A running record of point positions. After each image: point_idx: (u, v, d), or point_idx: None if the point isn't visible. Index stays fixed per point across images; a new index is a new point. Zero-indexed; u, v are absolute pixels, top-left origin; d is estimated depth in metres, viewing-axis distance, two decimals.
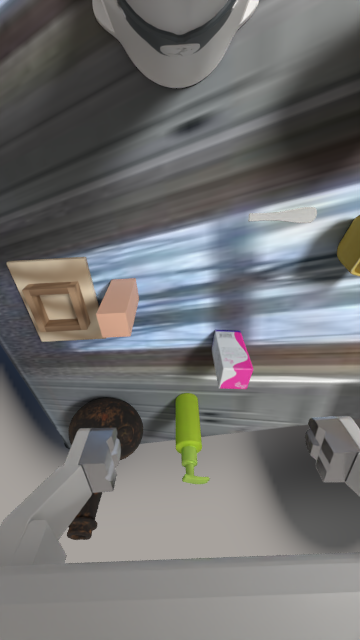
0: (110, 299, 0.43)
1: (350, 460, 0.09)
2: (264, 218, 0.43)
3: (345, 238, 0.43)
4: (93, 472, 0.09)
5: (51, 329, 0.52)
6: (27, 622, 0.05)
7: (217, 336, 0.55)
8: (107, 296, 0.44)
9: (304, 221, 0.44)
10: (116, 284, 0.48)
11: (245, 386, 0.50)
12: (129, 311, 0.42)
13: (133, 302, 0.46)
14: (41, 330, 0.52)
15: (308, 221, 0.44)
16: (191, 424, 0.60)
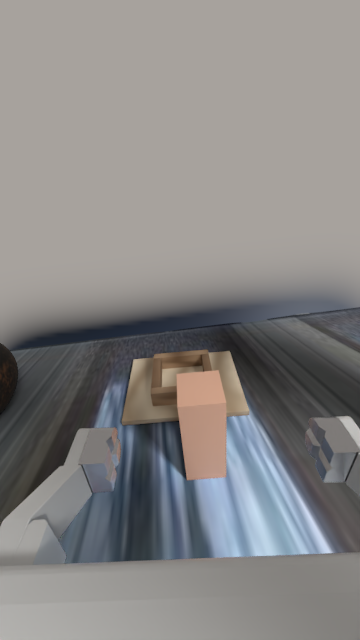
0: None
1: (350, 460, 0.09)
2: None
3: None
4: (93, 472, 0.09)
5: (156, 362, 0.44)
6: (27, 622, 0.05)
7: None
8: None
9: None
10: None
11: None
12: (211, 422, 0.25)
13: (206, 449, 0.27)
14: (156, 355, 0.45)
15: None
16: None
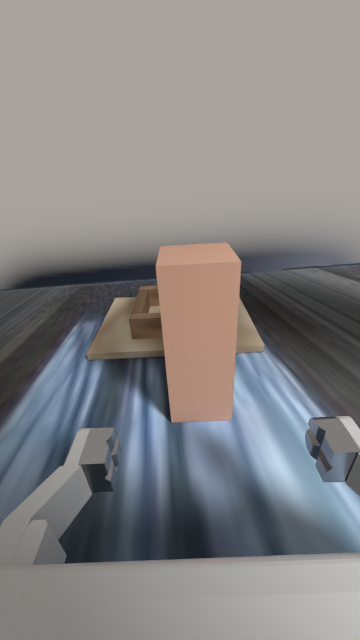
0: None
1: (350, 460, 0.09)
2: None
3: None
4: (93, 472, 0.09)
5: (141, 293, 0.33)
6: (27, 622, 0.05)
7: None
8: None
9: None
10: None
11: None
12: (213, 306, 0.15)
13: (202, 363, 0.17)
14: (142, 287, 0.35)
15: None
16: None
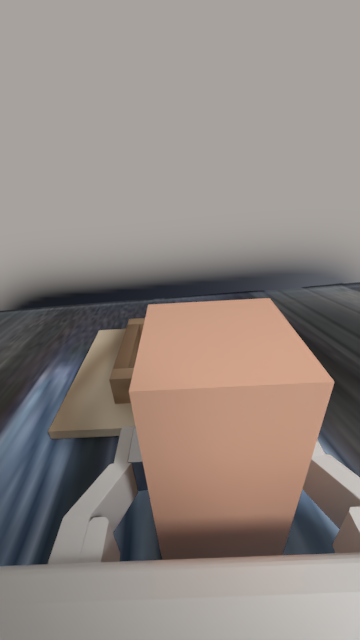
0: None
1: None
2: None
3: None
4: (142, 470, 0.09)
5: (130, 330, 0.25)
6: (27, 622, 0.05)
7: None
8: None
9: None
10: None
11: None
12: (258, 457, 0.07)
13: (228, 532, 0.09)
14: (132, 320, 0.27)
15: None
16: None
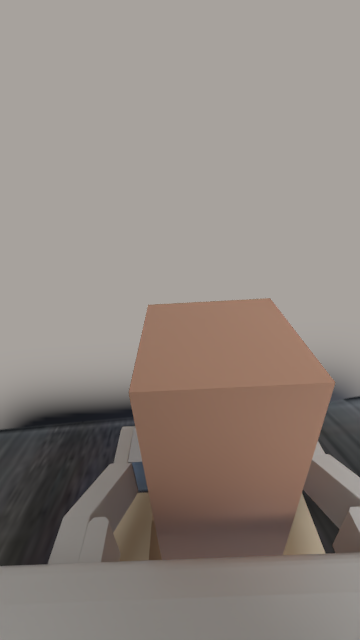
0: None
1: None
2: None
3: None
4: (142, 470, 0.09)
5: (157, 538, 0.20)
6: (27, 622, 0.05)
7: None
8: None
9: None
10: None
11: None
12: (259, 458, 0.07)
13: (228, 533, 0.09)
14: None
15: None
16: None
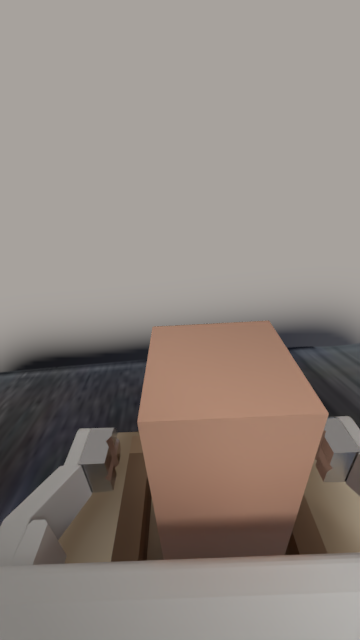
0: None
1: (350, 460, 0.09)
2: None
3: None
4: (93, 472, 0.09)
5: (135, 472, 0.15)
6: (27, 622, 0.05)
7: None
8: None
9: None
10: None
11: None
12: (258, 479, 0.07)
13: (229, 546, 0.09)
14: (138, 440, 0.17)
15: None
16: None
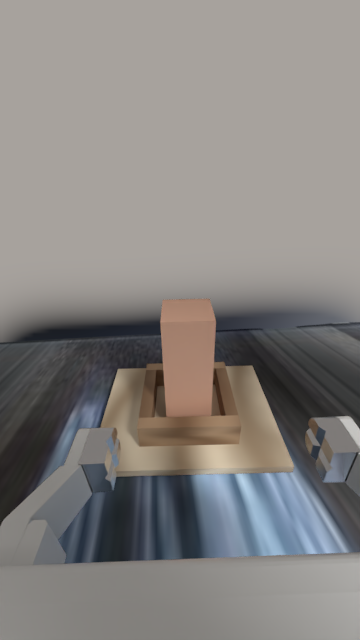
0: None
1: (350, 460, 0.09)
2: None
3: None
4: (93, 472, 0.09)
5: (149, 376, 0.30)
6: (27, 622, 0.05)
7: None
8: None
9: None
10: None
11: None
12: (198, 347, 0.22)
13: (190, 383, 0.24)
14: (150, 365, 0.31)
15: None
16: None
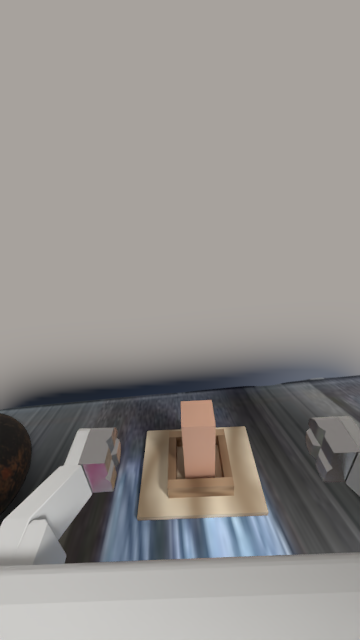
0: None
1: (350, 460, 0.09)
2: None
3: None
4: (93, 472, 0.09)
5: (171, 443, 0.43)
6: (27, 622, 0.05)
7: None
8: None
9: None
10: None
11: None
12: (205, 438, 0.35)
13: (200, 457, 0.37)
14: (171, 433, 0.45)
15: None
16: None
